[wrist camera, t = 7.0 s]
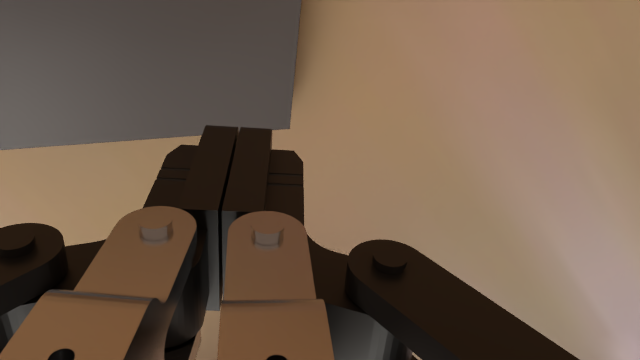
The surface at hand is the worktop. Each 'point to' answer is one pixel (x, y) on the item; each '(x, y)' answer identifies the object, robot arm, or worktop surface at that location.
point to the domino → (143, 68)
